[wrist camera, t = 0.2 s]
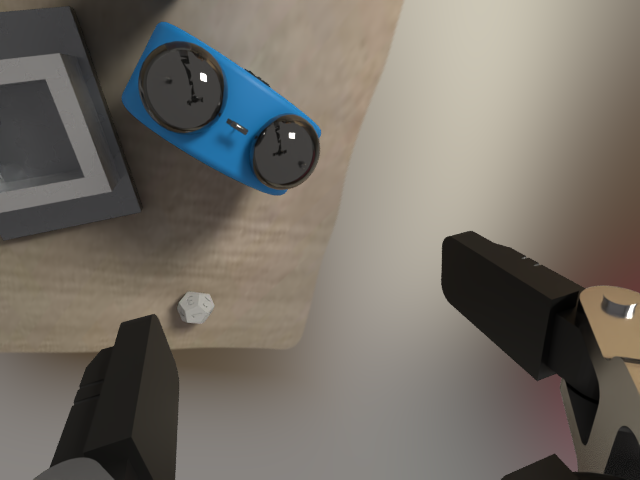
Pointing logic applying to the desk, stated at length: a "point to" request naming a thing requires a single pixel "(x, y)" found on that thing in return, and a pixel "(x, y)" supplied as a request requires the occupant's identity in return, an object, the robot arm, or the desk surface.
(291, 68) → the desk surface
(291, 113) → the alarm clock
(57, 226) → the socket block
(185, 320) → the game die
